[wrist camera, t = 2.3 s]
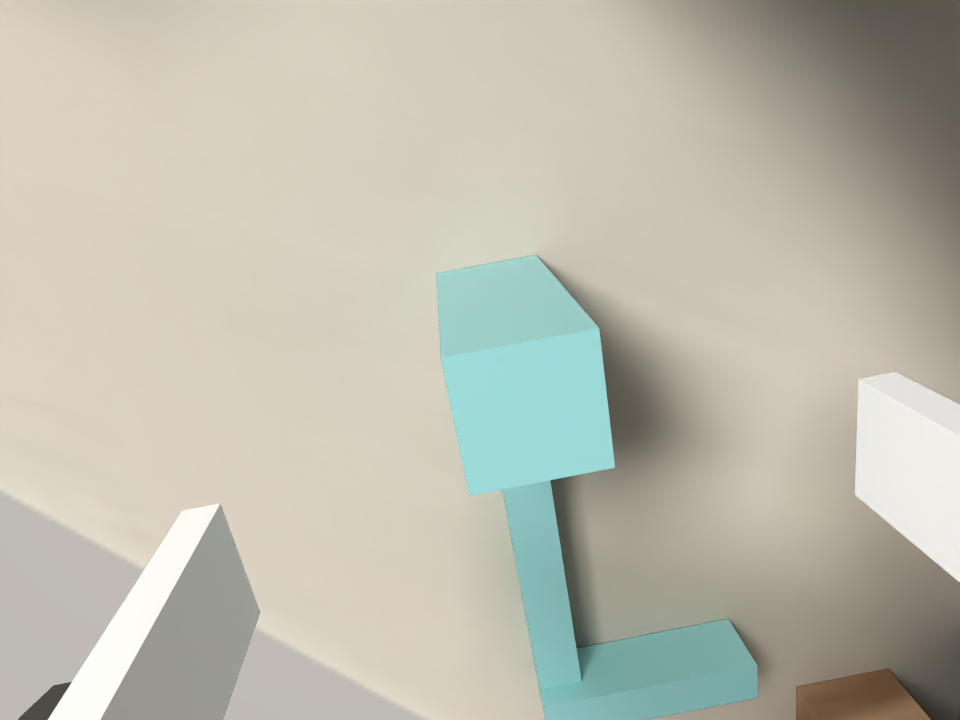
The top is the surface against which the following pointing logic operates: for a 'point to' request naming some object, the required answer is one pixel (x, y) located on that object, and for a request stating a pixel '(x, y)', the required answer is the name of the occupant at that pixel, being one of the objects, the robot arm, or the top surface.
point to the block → (857, 699)
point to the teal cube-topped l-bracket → (528, 494)
